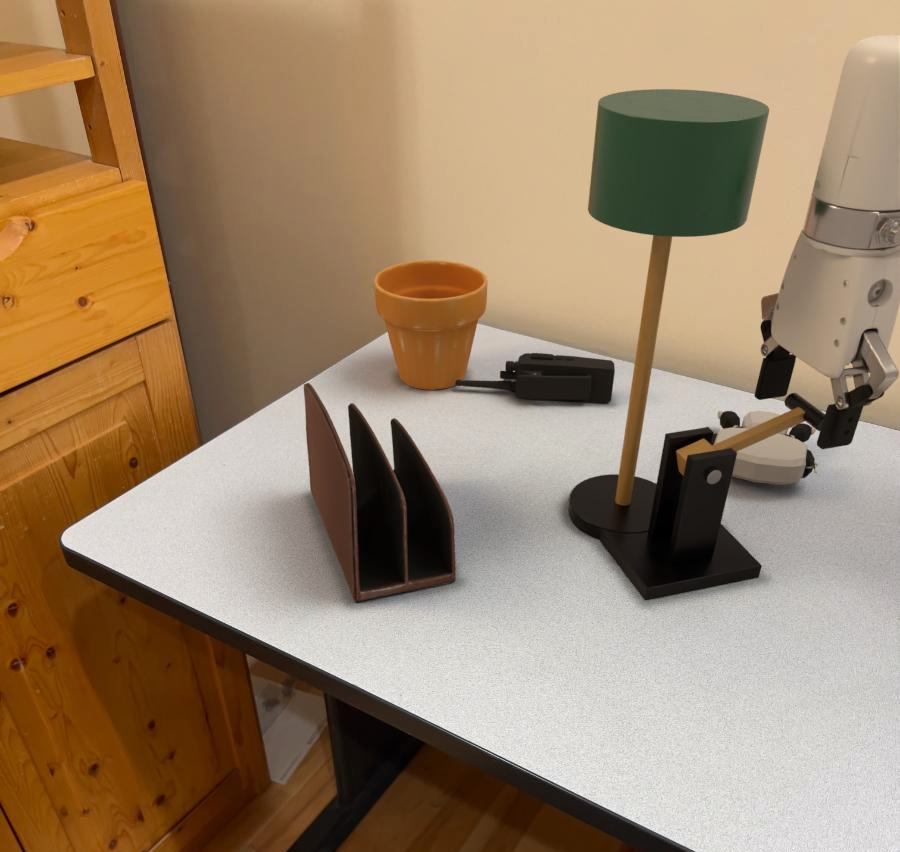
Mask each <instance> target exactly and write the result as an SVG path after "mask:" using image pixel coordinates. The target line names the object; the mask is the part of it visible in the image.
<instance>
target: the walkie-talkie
mask: <svg viewBox="0 0 900 852" xmlns="http://www.w3.org/2000/svg"><path fill="white" fill-rule="evenodd" d="M615 368H616V367H615V363H614V361H613V360H611V359H602V358H594V357H585V356H584V357H583V356H576V355H562V354H557V355H555V354H552V353H543V352H542V353H541V352H531V353H530V352H526V353H523V354H520V356H519V357H518V360H516V361H513V360H506V361H505V369H504V370H500V372H499V379H501V380H473V379H472V380H471V379H466V380H465V379H463V380H456V382H455V386H456V387H469V388H481V389H483V388H484V389H493V390H501V391H513V392H515V393H514V395H515V397H516V398H517V399H521V400H537V401H553V402H554V401H555V402H575V403H576V402H577V403H579V402H580V403H610V402H612V397H613V388H614V380H615V373H616V370H615ZM512 380H513V381H512Z"/></svg>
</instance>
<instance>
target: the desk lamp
mask: <svg viewBox="0 0 900 852" xmlns="http://www.w3.org/2000/svg"><path fill="white" fill-rule="evenodd" d="M769 115H770V107H769V105H767V104H765V103H764V102H762V101H759V100H756V99H754V98H750V97H746V96H742V95H738V94H731V93H727V92H718V91H708V90H695V89H677V88H656V89H655V88H652V89H636V90H627V91H620V92H619V91H618V92H615V93H610V94H607V95H605V96H602V97H601V98H599V100H598V101H597V111H596V120H595V121H596V122H595V132H594V139H593V141H594V142H593V143H594V144H593V151H592V162H591V171H590V182H589V193H588V203H587V212H588V214H589V215H590V216H591V217H592V218H593V219H594V220H595V221H598V222H599V223H601V224H604V225H606V226H609V227H611V228H614V229H618V230H621V231H626V232H630V233H634V234H635V233H636V234H640V235H649V236H652V242H651V248H650V254H649V261H648V268H647V274H646V275H647V276H646V283H645V289H644V297H643V302H642V311H641V318H640V325H639V332H638V339H637V343H636V345H637V346H636V352H635V358H634V359H635V360H634V364H633V365H634V367H633V374H632V380H631V388H630V394H629V401H628V409H627V414H626V423H625V429H624V436H623V442H622V450H621V456H620V463H619V472H618V473H616V474H615V473H613V474H600V475H596V476H592V477H589V478H586V479H584V480H582V481H581V482H579V483H577V484H576V485H575V486H574V487H573V488H572V490H571V491H570V494H569V498H568V499H569V500H568V506H567V513H568V517H569V520H570V521H571V523H572V525H574V527H576V529H578V531H580V532H582V533H583V534H585V535H587V536H588V537H591V538H593V539H595V540H597V541H600V535H601V529H606V530H610V531H616V532H624V533H638V532H647V531H648V530H649V524H650V518H651V513H652V507H653V501H654V496H655V490H656V484H657V482H654V481H652V480H649V479H647V478H643V477H640V476H636V471H637V463H638V458H639V451H640V447H641V446H640V445H641V441H642V440H641V439H642V433H643V426H644V421H645V414H646V407H647V402H648V395H649V388H650V381H651V375H652V369H653V363H654V356H655V351H656V343H657V337H658V331H659V326H660V325H659V324H660V317H661V311H662V305H663V299H664V294H665V288H666V287H665V286H666V280H667V274H668V268H669V260H670V256H671V255H670V254H671V249H672V243H673V237H674V238H677V237H678V238H691V237H692V238H693V237H695V238H696V237H705V236H706V237H707V236H708V237H709V236H715V235H722V234H725V233H728V232H732V231H734V230H737V229H739V228H741V227H743V226H744V225H745V224H746V223H747V220H748V217H749V216H748V215H749V211H750V205H751V201H752V197H753V192H754V187H755V182H756V177H757V174H758V173H757V172H758V168H759V163H760V158H761V153H762V148H763V144H764V143H763V142H764V138H765V134H766V129H767V124H768V120H769Z"/></svg>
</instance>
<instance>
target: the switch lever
mask: <svg viewBox="0 0 900 852" xmlns="http://www.w3.org/2000/svg"><path fill="white" fill-rule="evenodd" d="M784 406H785V407H786V408H787V409H789V411H786V412H784V413H782V414H779V415H780V416H777V417H775V418H773V419H771V420H768V421H766V422H764V423H762V424H759V425H757V426H755V427H753V428H750V429H748V430H746V431H744V432H741V433H739V434H737V435H735V436H733V437H730V438H728V439H726V440H724V441H721V442H719V443H717V444H715V445H711V444H709V443H708V442H707V441H706V440H705V439H704V438H703V439H701V440H699V441H697V442H694V443H692V444H690V445H688V446H685V447H683V448H681V449H679V450H676V454H677V461H678V468H679V472H680V473H681V474H682V475H683V476H684V471H685V466H686V460H687V456H688V455H691V454H697V453H704V452H710V451H716V450H722V449H728V448H732V449H733V450H735V451H736V452H737V451H739V450H742V449H744V448H746V447H748V446H751V445H753V444H755V443H757V442H759V441H762V440H764V439H766V438H768V437H771V436H773V435H775V434H777V433H780V432H782V431H784V430H786V429H788V430H789V429H792V427H794V426H796V425H798V424H800V423H804V422H805V423H806V424H808V425H810V427H814V428H815V429H816V431H818V432H820V430H821V427H822V423H823V420H824V417H825V412H823V411H822V410H820V409H819V408H817V407H816V406H815V405H813V404H812V403H811V402H809V401H808V400H807V399H806V398H804V397H803V396H801V395H800V394H798V393H797V392H791V393H789V394H787V395H786V397H785V399H784Z"/></svg>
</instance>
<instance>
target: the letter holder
mask: <svg viewBox="0 0 900 852" xmlns="http://www.w3.org/2000/svg"><path fill="white" fill-rule="evenodd" d="M303 395H304V396H303V397H304V411H305V413H304V414H305V434H306V437H305V438H306V449H307V460H308V470H309V471H308V472H309V488H310V493H311V496H312V498H313V500H314V503H315V505H316V507H317V509H318V513H319V514H320V518H321V520H322V523H323V526H324V528H325V530H326V533H327V536H328V538H329V540H330V541H329V542H330V543H331V545H332V548H333V551H334V553H335V557H336V559H337V560H338V563H339V565H340V567H341V571H342V573H343V576H344V578H345V580H346V584H347V586H348V588H349V592H350V594H351V597H352V600H353V601H354V602H355V603H357V604H359V603H360V602H364V601H369V600H372V599H377V598H382V597H387V596H392V595H397V594H403V593H408V592H413V591H416V590H422V589H425V588H431V587H437V586H441V585H446V584H451V583H454V582H456V579H457V571H456V570H457V566H456V565H457V563H456V562H457V561H456V537H455V536H456V531H455V530H456V528H455V519H454V515H453V511H452V509H451V506H450V503H449V501H448V499H447V496H446V495H445V493H444V491H443V489H442V487H441V486H440V483H439V482H438V480H437V478H436V476H435V475H434V473H433V471H432V469H431V467H430V465H429V464H428V462H427V461H426V459H425V457H424V456H423V454H422V452H421V450H420V449H419V447H418V446H417V444H416V442H415V441H414V440H413V438H412V436H411V435H410V434H409V433H408V430H407V429H406V428H405V427H404V425H403V424H402V423H401V422H400V420H398V419H397V418H395V417H393V418H392V419H390V429H391V430H390V431H391V444H392V456H393V458H392V459H393V467H392V465H391V463H390V461H389V459H388V457H387V455H386V453H385V451H384V449H383V447H382V445H381V444H380V442H379V439H378V438H377V436H376V434H375V432H374V430H373V428H372V427H371V425H370V424H369V422H368V421H367V419H366V417H365V416H364V414H363V413H362V412H361V409H359V408H358V406H357V405H356V404H355V403H353V402H351V403H349V404H348V405H347V412H348V415H347V416H348V424H349V425H348V426H349V427H348V428H349V440H350V452H351V454H350V455H351V463H350V460H349V458H348V455H347V453H346V450H345V448H344V445H343V442H342V440H341V438H340V436H339V434H338V431H337V429H336V427H335V424H334V422H333V420H332V418H331V415H330V414H329V412H328V409H327V408H326V406H325V404H324V403H323V401H322V399H321V398H320V396H319V394H318V393H317V391H316V390H315V388H314V386H313V385H312V384H311V383H310V382H307V383H304V384H303ZM351 464H352V466H351Z"/></svg>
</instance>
